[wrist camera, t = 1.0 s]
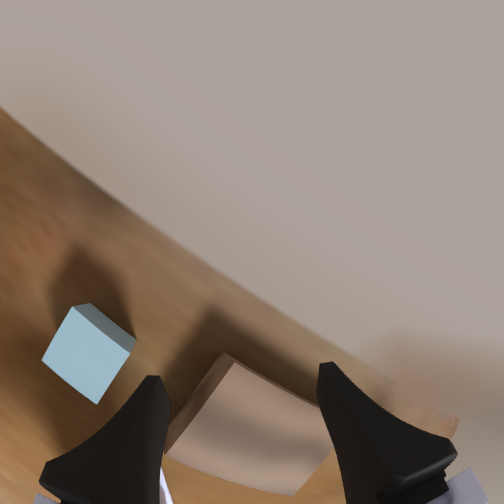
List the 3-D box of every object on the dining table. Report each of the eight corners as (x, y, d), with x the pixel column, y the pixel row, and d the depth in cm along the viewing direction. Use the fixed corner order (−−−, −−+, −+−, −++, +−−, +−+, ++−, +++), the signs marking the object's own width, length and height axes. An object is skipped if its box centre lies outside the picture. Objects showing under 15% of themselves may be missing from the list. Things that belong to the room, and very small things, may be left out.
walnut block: (276, 477, 22) (292, 496, 18) (162, 432, 20) (164, 455, 16) (328, 409, 25) (350, 422, 21) (222, 350, 22) (234, 362, 19)
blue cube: (108, 382, 19) (96, 404, 14) (63, 346, 18) (41, 360, 13) (136, 339, 20) (130, 353, 16) (90, 302, 20) (72, 306, 15)
